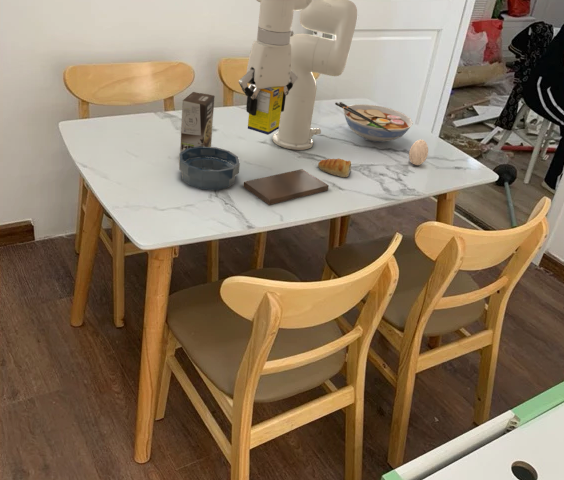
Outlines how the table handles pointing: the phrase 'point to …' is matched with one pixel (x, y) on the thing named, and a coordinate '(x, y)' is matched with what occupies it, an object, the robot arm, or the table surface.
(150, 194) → the table surface
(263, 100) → the supplement box
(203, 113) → the coffee box
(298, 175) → the walnut board
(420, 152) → the egg
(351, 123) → the ramen bowl
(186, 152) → the bowl
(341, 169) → the pastry
